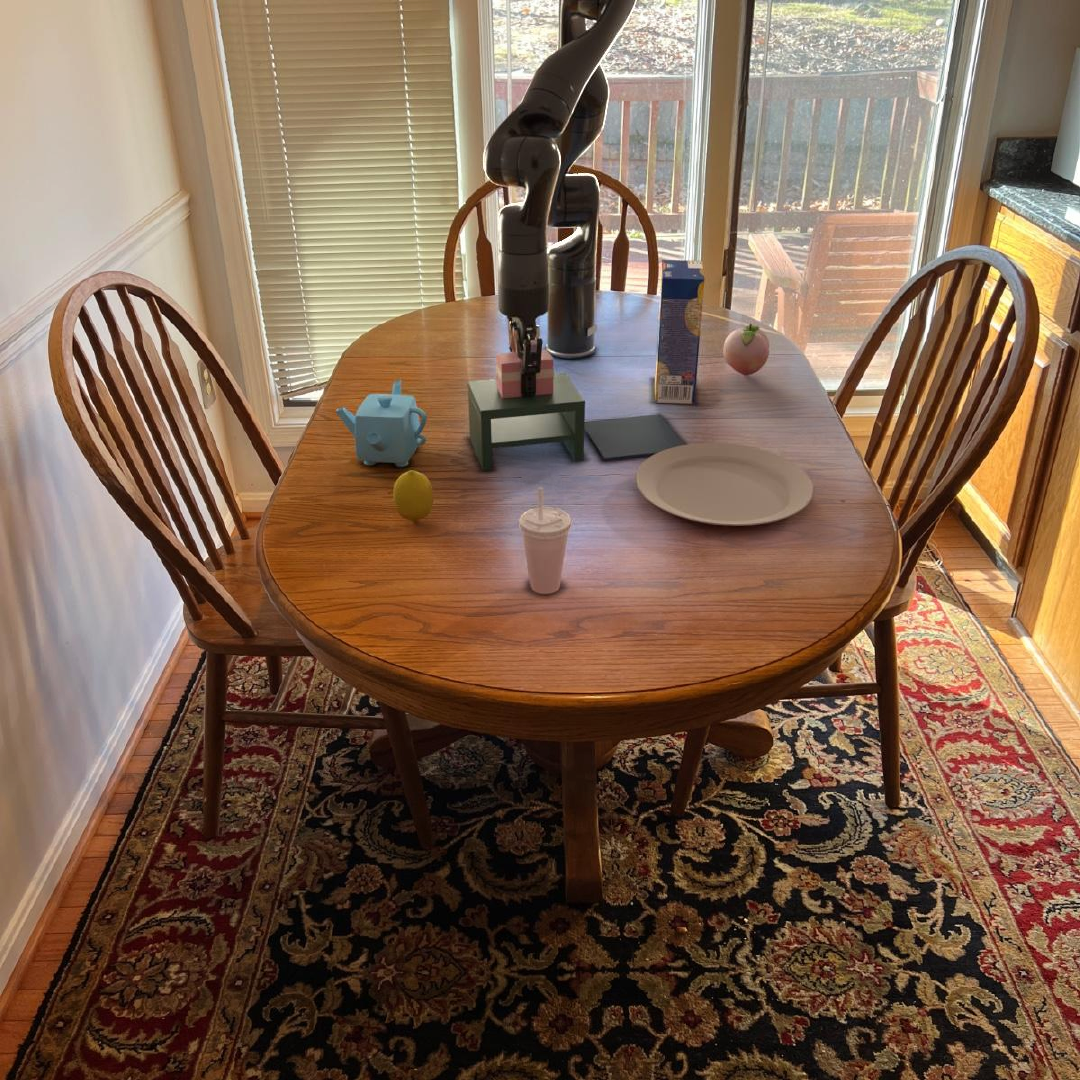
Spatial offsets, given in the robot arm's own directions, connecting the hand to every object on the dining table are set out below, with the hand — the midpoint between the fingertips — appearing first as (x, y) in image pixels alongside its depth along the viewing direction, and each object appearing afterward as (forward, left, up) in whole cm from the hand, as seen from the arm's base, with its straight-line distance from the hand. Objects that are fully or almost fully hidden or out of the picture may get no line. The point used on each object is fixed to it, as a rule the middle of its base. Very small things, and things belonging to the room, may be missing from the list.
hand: (524, 388), depth 156 cm
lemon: (+19, -20, -11) cm, 30 cm away
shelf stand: (0, 0, -10) cm, 10 cm away
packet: (0, 0, 0) cm, 0 cm away
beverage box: (-17, +31, -11) cm, 37 cm away
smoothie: (+39, -6, -11) cm, 41 cm away
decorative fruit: (-21, +46, -11) cm, 52 cm away
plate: (+21, +25, -11) cm, 34 cm away
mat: (0, +18, -10) cm, 21 cm away
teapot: (-3, -22, -11) cm, 25 cm away
